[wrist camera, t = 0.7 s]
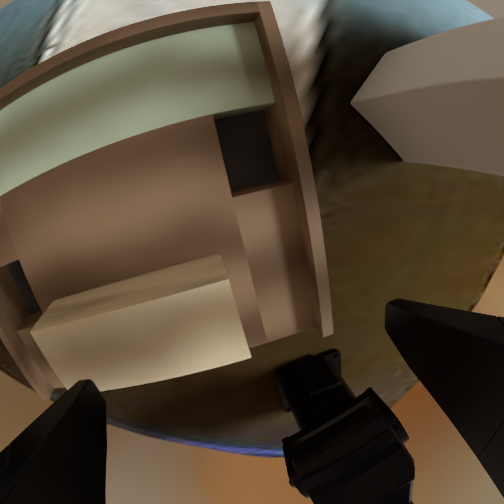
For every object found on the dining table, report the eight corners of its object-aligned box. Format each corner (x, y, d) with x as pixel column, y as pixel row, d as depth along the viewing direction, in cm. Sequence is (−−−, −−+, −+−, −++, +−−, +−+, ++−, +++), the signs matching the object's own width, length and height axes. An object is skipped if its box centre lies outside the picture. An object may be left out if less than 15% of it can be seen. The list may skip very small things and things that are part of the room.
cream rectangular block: (239, 320, 19) (251, 357, 15) (85, 358, 17) (70, 394, 14) (219, 252, 17) (228, 278, 13) (53, 300, 16) (29, 331, 12)
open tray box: (309, 304, 23) (333, 333, 19) (57, 368, 20) (42, 400, 16) (253, 29, 16) (269, 1, 11) (-28, 138, 13) (-61, 139, 9)
